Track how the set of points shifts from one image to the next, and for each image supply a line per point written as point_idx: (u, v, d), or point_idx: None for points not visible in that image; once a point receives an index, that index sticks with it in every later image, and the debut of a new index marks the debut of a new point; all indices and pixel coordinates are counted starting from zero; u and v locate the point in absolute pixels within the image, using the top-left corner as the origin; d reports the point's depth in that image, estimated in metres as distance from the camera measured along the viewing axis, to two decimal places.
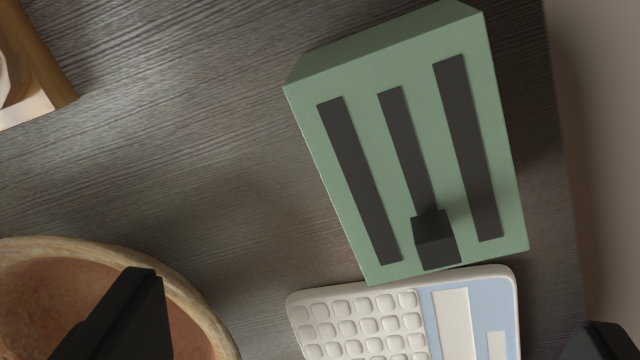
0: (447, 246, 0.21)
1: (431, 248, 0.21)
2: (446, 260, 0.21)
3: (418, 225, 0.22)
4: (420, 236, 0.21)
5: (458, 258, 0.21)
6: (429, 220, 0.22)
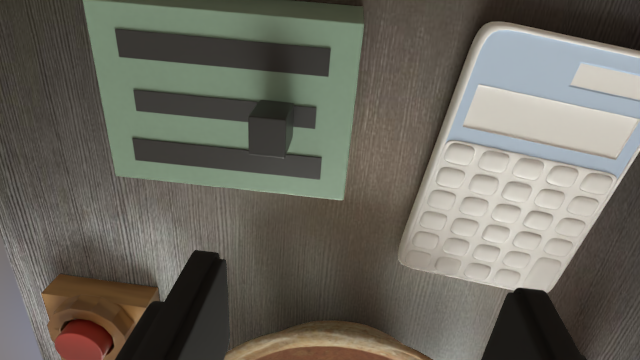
0: (258, 126, 0.19)
1: (256, 142, 0.19)
2: (277, 133, 0.19)
3: None
4: None
5: (278, 121, 0.19)
6: None
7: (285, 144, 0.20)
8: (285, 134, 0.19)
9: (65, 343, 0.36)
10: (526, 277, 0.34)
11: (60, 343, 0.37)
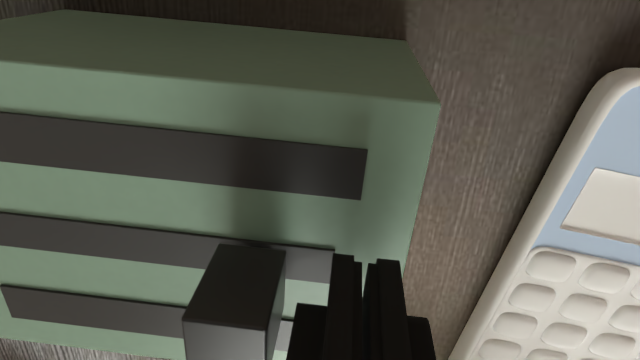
0: (206, 338, 0.09)
1: None
2: (246, 351, 0.09)
3: None
4: None
5: (248, 331, 0.08)
6: None
7: None
8: (265, 351, 0.09)
9: None
10: None
11: None
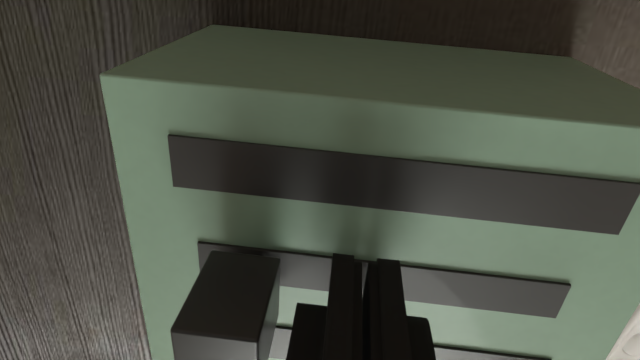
0: (196, 350, 0.08)
1: None
2: None
3: None
4: None
5: (239, 343, 0.08)
6: None
7: None
8: None
9: None
10: None
11: None
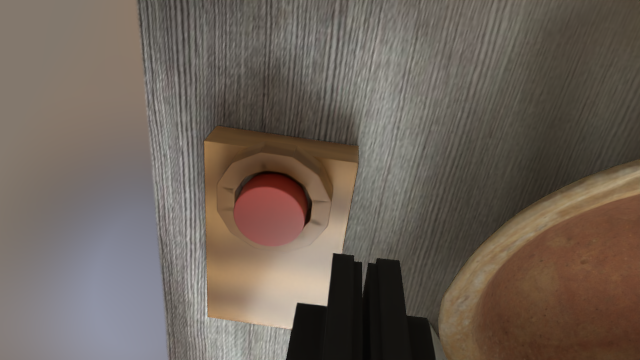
0: None
1: None
2: None
3: None
4: None
5: None
6: None
7: None
8: None
9: (252, 205, 0.25)
10: None
11: (244, 205, 0.25)
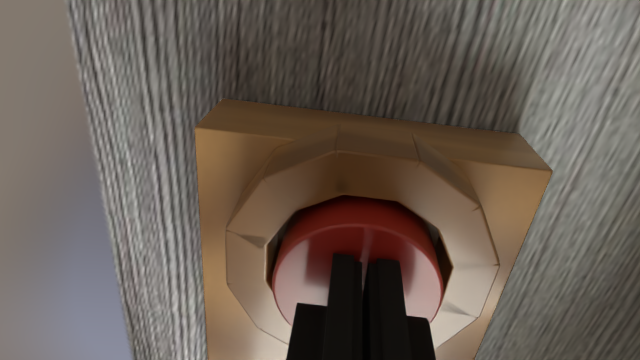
0: None
1: None
2: None
3: None
4: None
5: None
6: None
7: None
8: None
9: (318, 268, 0.10)
10: None
11: (300, 269, 0.10)
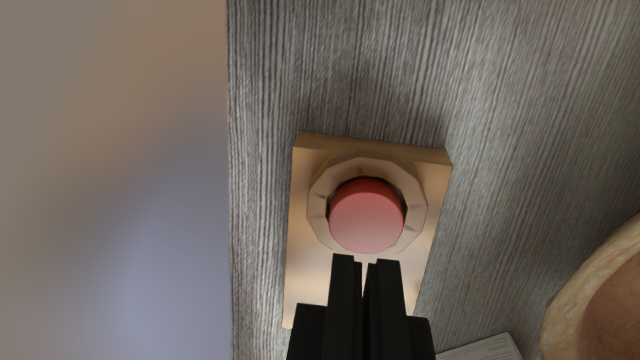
0: None
1: None
2: None
3: None
4: None
5: None
6: None
7: None
8: None
9: (349, 211, 0.24)
10: None
11: (341, 212, 0.24)
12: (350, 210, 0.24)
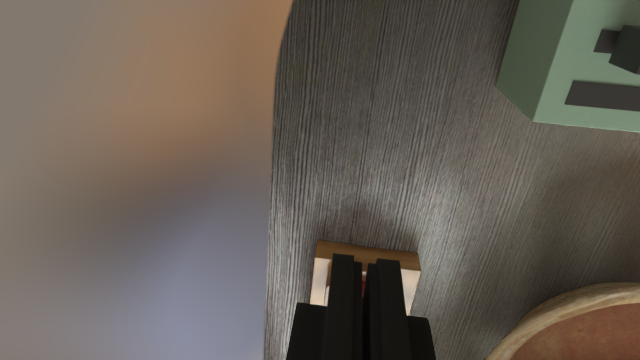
0: None
1: None
2: None
3: (620, 59, 0.22)
4: (630, 64, 0.21)
5: None
6: (623, 46, 0.21)
7: None
8: None
9: None
10: None
11: None
12: None
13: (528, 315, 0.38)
